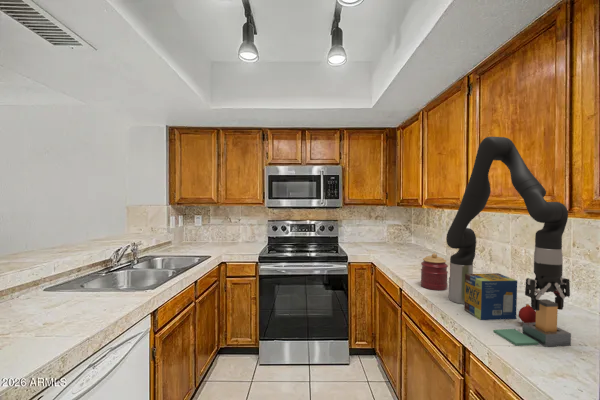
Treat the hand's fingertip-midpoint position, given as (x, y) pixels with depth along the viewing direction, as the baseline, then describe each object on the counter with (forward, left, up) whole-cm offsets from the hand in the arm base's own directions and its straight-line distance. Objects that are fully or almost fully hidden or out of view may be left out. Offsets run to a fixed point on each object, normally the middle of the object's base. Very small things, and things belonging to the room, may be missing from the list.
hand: (547, 309), depth 104 cm
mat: (-2, -10, -10) cm, 14 cm away
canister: (-59, -7, -11) cm, 60 cm away
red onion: (-11, +3, -11) cm, 16 cm away
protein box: (-22, -4, -11) cm, 25 cm away
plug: (0, 0, -10) cm, 10 cm away
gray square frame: (0, 0, -10) cm, 10 cm away
